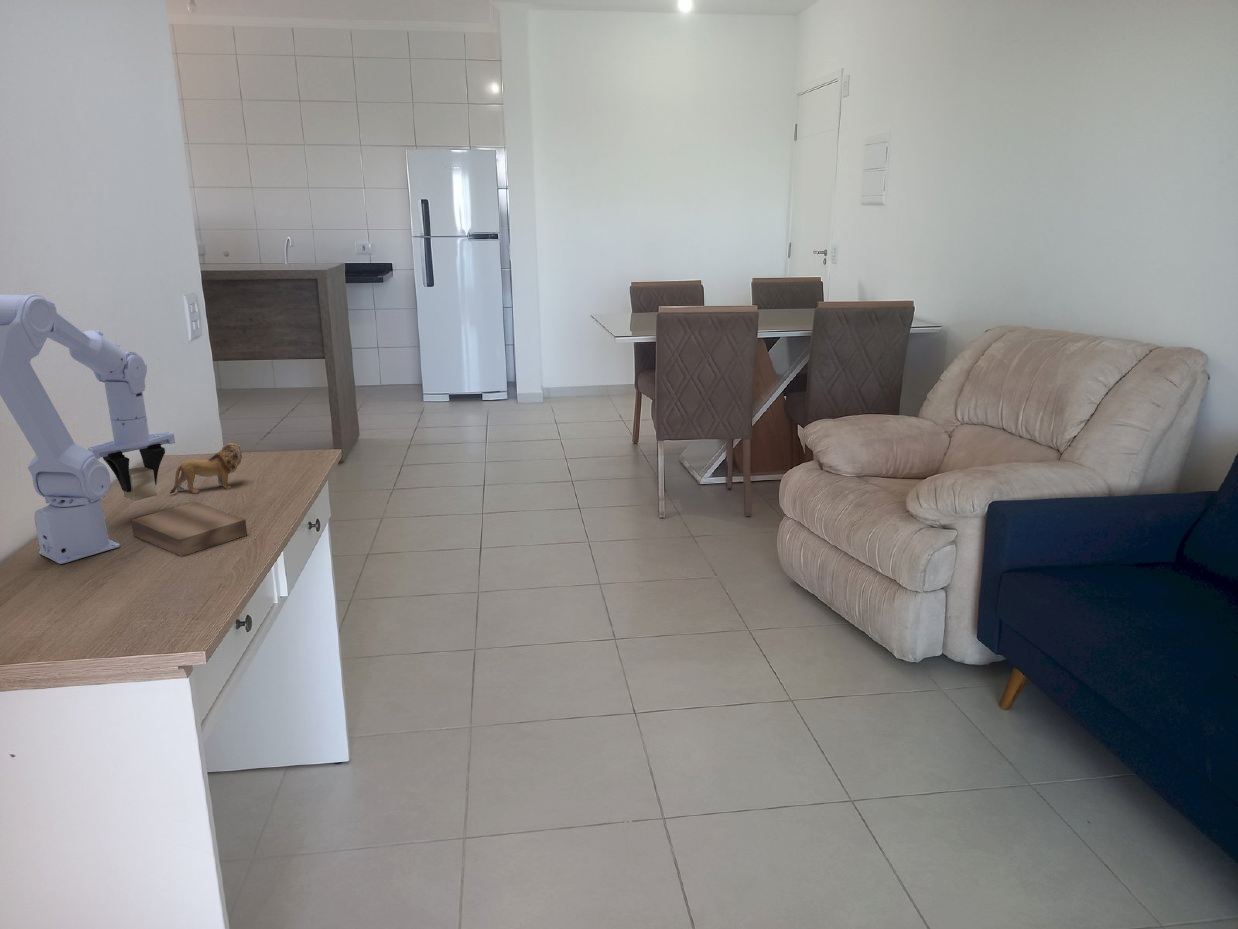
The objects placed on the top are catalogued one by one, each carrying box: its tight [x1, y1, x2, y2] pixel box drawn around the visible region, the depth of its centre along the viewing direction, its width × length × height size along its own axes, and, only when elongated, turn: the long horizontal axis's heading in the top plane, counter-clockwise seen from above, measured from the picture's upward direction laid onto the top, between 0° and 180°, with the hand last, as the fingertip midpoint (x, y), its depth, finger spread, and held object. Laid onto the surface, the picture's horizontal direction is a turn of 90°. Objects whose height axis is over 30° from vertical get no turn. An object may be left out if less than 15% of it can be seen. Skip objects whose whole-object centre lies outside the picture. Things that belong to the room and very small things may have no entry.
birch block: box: [122, 465, 158, 502], centre depth 155 cm, size 4×4×5 cm
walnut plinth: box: [130, 501, 248, 557], centre depth 148 cm, size 12×16×3 cm
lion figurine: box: [169, 442, 243, 495], centre depth 172 cm, size 15×5×9 cm, turn 130°
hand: (139, 487), depth 156 cm, fingers closed on birch block, 4 cm apart
